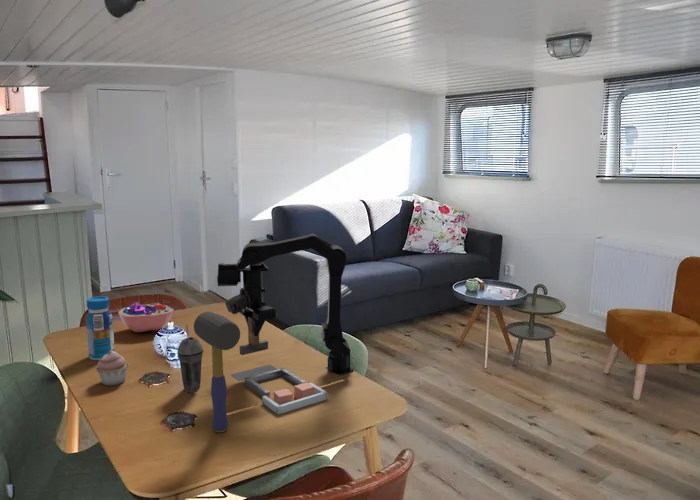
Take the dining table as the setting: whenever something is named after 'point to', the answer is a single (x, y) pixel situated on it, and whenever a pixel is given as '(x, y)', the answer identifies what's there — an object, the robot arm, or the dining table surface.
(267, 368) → the mat
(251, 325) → the t-shaped scraper
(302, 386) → the salmon pink cube
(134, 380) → the dining table surface
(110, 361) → the cupcake
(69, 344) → the dining table surface
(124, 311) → the cell model
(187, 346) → the beverage cup
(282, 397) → the dusty rose cube
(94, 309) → the beverage bottle
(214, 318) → the rubber mallet
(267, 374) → the slot channel
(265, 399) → the tray
